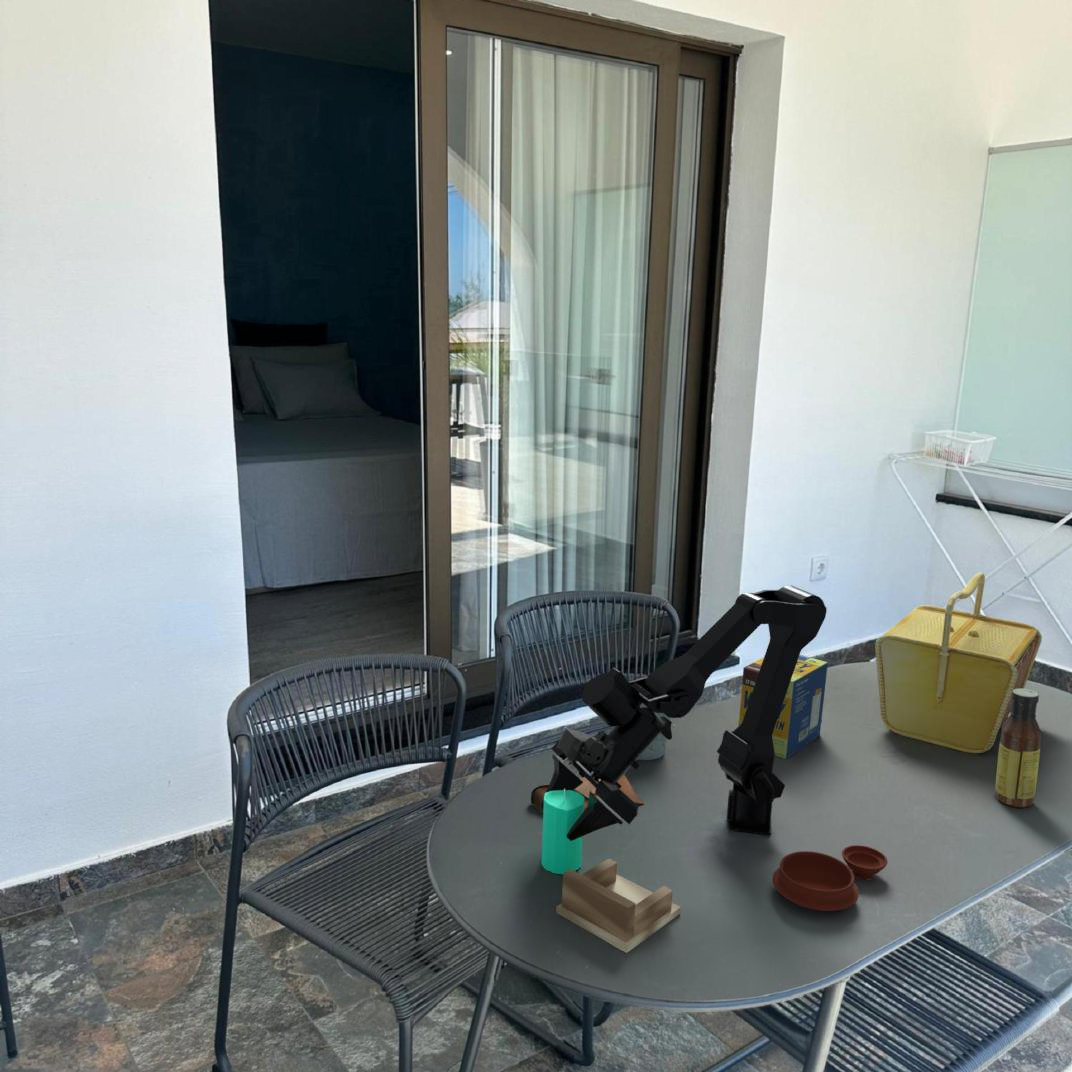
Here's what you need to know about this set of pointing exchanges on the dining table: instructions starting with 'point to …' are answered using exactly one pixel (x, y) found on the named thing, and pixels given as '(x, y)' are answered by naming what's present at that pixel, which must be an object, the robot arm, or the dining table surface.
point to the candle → (561, 831)
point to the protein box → (793, 704)
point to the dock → (614, 906)
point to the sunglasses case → (584, 792)
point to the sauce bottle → (1019, 751)
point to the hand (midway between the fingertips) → (554, 823)
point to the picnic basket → (953, 672)
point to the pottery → (826, 877)
